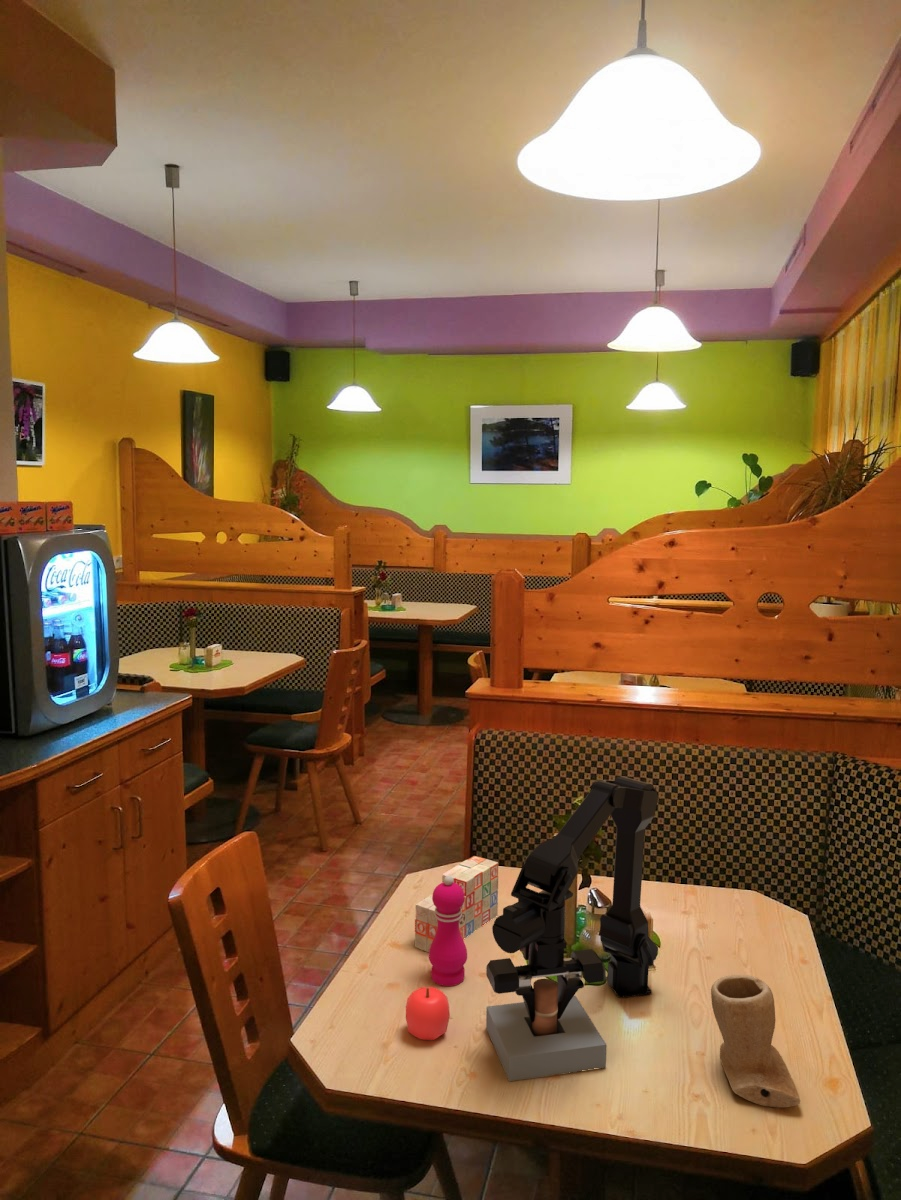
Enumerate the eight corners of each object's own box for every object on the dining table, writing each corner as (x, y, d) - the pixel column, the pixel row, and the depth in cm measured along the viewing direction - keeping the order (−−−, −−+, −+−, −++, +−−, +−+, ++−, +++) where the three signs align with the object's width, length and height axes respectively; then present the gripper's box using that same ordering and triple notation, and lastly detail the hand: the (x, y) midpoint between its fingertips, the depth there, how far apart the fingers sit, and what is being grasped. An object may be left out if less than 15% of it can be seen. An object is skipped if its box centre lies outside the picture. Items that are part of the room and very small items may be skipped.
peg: (552, 1021, 150) (553, 977, 149) (560, 1036, 146) (562, 990, 145) (528, 1024, 149) (529, 979, 148) (536, 1040, 145) (537, 993, 144)
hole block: (575, 1017, 157) (575, 995, 156) (605, 1067, 143) (606, 1044, 143) (486, 1028, 153) (486, 1006, 153) (509, 1081, 140) (509, 1057, 139)
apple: (441, 1051, 147) (441, 1005, 146) (396, 1040, 150) (396, 996, 149) (457, 1024, 155) (458, 980, 153) (414, 1014, 157) (414, 971, 156)
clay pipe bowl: (702, 1046, 149) (706, 960, 147) (776, 1051, 148) (781, 965, 146) (718, 1108, 134) (723, 1014, 132) (801, 1115, 133) (807, 1021, 131)
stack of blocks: (439, 957, 176) (439, 898, 175) (414, 948, 180) (414, 889, 178) (498, 916, 194) (499, 861, 192) (473, 908, 197) (474, 854, 196)
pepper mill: (463, 990, 165) (464, 886, 162) (424, 985, 166) (425, 882, 164) (470, 969, 172) (471, 869, 169) (433, 965, 173) (433, 866, 171)
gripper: (583, 901, 155) (581, 986, 157) (478, 911, 151) (477, 998, 153) (608, 932, 145) (605, 1023, 147) (496, 944, 141) (494, 1037, 143)
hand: (544, 1019), depth 148 cm, fingers closed on peg, 4 cm apart
